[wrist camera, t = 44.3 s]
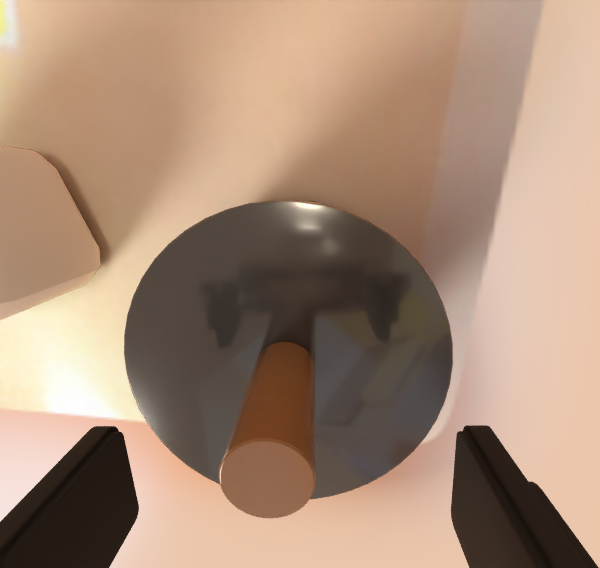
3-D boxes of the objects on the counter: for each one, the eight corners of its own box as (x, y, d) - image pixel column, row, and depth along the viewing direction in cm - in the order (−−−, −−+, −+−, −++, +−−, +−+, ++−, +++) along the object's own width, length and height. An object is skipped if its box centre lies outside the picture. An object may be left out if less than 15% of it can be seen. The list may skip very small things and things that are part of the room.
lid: (452, 190, 14) (588, 191, 7) (435, 479, 18) (513, 667, 11) (110, 208, 15) (-72, 225, 8) (162, 481, 18) (70, 658, 12)
